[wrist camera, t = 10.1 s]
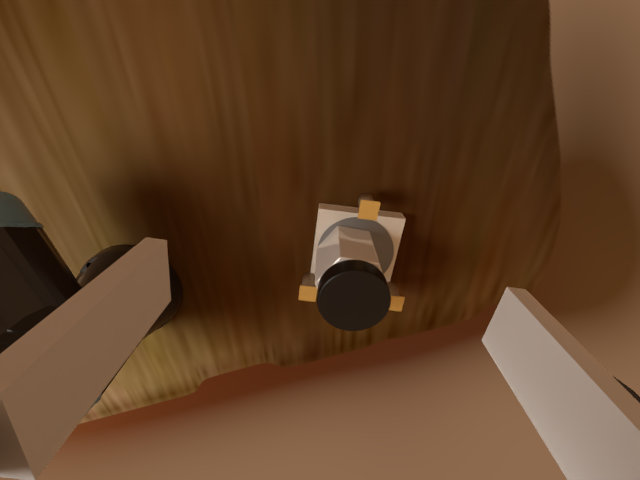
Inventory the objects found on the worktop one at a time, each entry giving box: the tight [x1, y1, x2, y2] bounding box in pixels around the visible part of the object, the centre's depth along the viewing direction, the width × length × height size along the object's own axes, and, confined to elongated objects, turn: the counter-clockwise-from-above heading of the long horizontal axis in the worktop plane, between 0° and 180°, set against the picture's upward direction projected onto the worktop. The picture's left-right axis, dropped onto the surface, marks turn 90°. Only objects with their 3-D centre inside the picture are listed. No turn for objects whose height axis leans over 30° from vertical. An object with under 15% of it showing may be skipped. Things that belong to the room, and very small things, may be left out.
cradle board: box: [298, 193, 406, 311], centre depth 44 cm, size 15×16×7 cm
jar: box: [315, 226, 391, 331], centre depth 40 cm, size 9×8×12 cm
